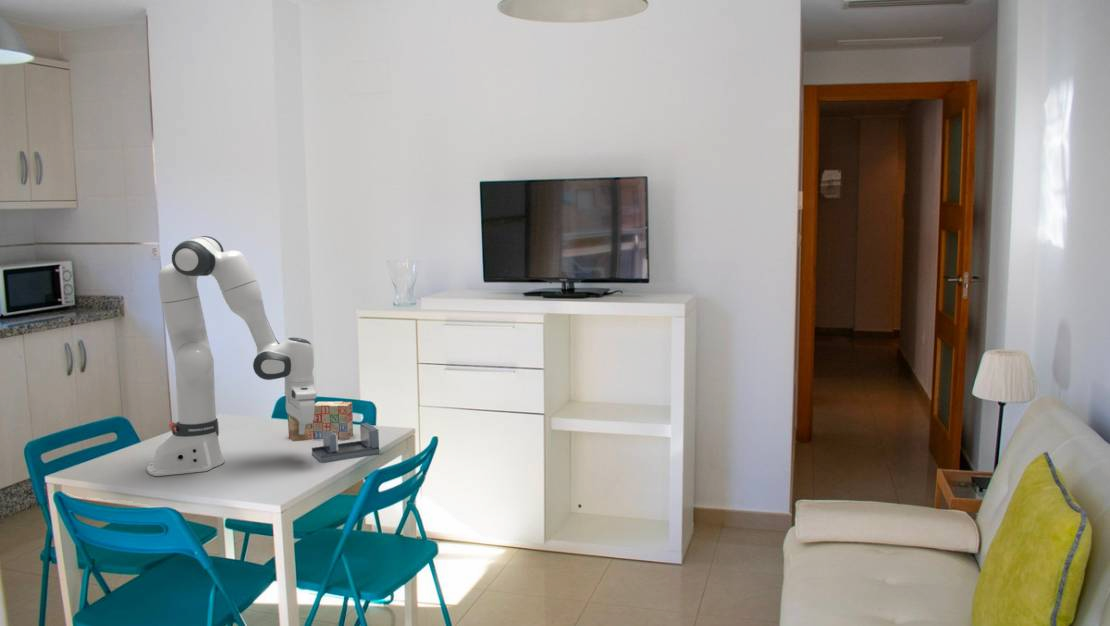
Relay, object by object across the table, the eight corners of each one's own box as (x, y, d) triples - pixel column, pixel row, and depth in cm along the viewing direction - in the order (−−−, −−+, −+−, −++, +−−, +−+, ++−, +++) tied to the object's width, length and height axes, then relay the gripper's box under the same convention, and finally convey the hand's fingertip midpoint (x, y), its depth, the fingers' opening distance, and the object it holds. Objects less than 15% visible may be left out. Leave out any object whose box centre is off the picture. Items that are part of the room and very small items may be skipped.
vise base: (321, 462, 287) (320, 438, 286) (311, 454, 296) (310, 430, 295) (379, 453, 296) (378, 429, 295) (368, 446, 306) (367, 422, 305)
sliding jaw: (330, 454, 290) (329, 436, 289) (323, 448, 297) (322, 430, 296) (338, 453, 291) (337, 435, 290) (331, 447, 298) (330, 429, 297)
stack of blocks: (288, 439, 316) (286, 405, 315) (295, 435, 323) (293, 401, 321) (348, 440, 314) (346, 405, 313) (353, 435, 321) (352, 401, 319)
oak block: (292, 441, 286) (292, 419, 285) (289, 438, 289) (289, 417, 288) (308, 440, 288) (308, 418, 287) (305, 437, 292) (305, 415, 291)
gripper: (280, 384, 294) (280, 425, 296) (297, 395, 277) (297, 440, 278) (300, 382, 297) (300, 424, 299) (318, 394, 280) (317, 438, 281)
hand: (299, 432), depth 288 cm, fingers closed on oak block, 4 cm apart
